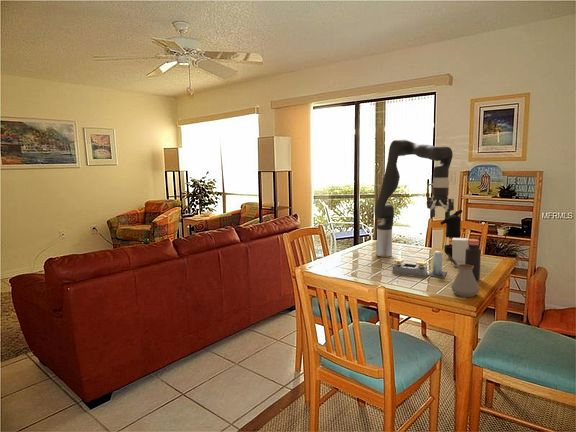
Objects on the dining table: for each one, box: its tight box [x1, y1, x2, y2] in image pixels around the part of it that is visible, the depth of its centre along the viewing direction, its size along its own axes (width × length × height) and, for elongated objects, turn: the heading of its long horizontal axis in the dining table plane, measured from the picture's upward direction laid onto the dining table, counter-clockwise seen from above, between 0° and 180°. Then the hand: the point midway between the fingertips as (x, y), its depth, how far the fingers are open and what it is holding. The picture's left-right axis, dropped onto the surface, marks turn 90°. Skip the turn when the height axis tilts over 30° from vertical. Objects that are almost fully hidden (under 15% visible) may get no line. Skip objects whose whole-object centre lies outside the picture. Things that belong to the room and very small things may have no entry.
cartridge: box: [432, 250, 443, 275], centre depth 195 cm, size 4×4×12 cm
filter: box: [440, 209, 463, 257], centre depth 226 cm, size 14×9×30 cm
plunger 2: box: [415, 260, 428, 268], centre depth 197 cm, size 4×4×5 cm
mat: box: [429, 270, 448, 279], centre depth 196 cm, size 7×10×1 cm
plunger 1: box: [393, 258, 404, 265], centre depth 203 cm, size 4×4×5 cm
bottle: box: [465, 238, 482, 282], centre depth 186 cm, size 7×7×20 cm
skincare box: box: [451, 237, 469, 268], centre depth 211 cm, size 8×7×16 cm
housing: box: [391, 261, 428, 278], centre depth 201 cm, size 16×10×4 cm, turn 60°
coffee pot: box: [444, 253, 480, 298], centre depth 171 cm, size 21×12×15 cm, turn 7°
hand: (439, 217), depth 192 cm, fingers open, 8 cm apart
